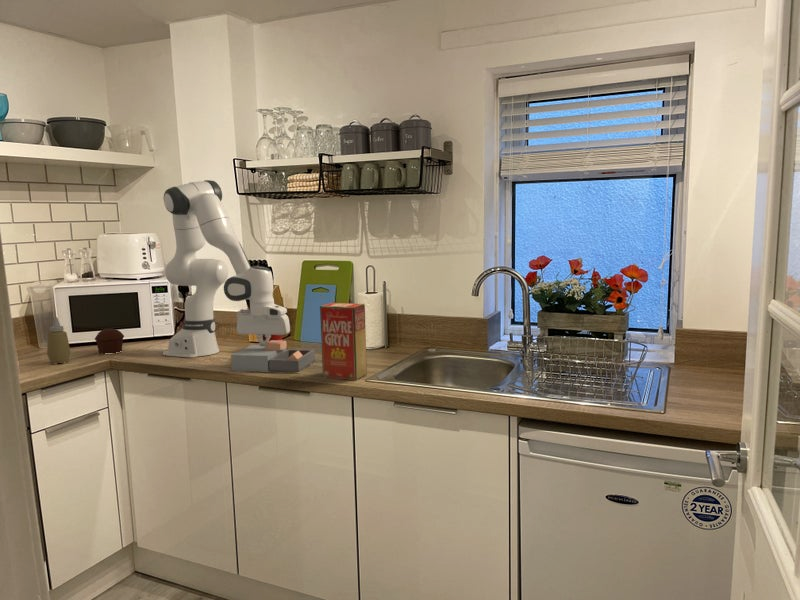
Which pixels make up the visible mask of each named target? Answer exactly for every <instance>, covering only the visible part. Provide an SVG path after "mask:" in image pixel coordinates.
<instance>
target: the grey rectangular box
mask: <svg viewBox="0 0 800 600" xmlns="http://www.w3.org/2000/svg"><path fill="white" fill-rule="evenodd" d="M285 350H287V347H286V348H284V349H282V350H265V346H259V344H250V345H249V346H247V347H245V348H242V349H240V350H238V351H236V352H234V353H232V354H230V360H231V361H230V363H231V372H245V371H259V372H258V373H269V372H270V371H269V360H270V359H271V358H273V357H275V356H277V355H278V354H280V353H282V352H284V351H285ZM268 371H269V372H268Z"/></svg>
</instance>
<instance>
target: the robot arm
mask: <svg viewBox="0 0 800 600" xmlns="http://www.w3.org/2000/svg"><path fill="white" fill-rule="evenodd" d="M222 200H223V191H222V188H221V186H220V185H219V184H218V183H217V181H215V180H211V179H210V180H208V179H207V180H206V179H205V180H202V181H201V180H199V181H190V182H189V183H184V184H181V185H177V186H172V187H168V188H167V189H166V190H165V191H164V194H163V203H164V207H165V208H166V211H167V212H169V213H170V214H172V215H171V216H172V224H173V230H174V238H175V244H176V248H175V254H174V256H172V257H173V258H172V259H171V260H170V261H168V263H167V265H166V267H165V270H164V273H165V277H166V280H167V281H168V283H170V284H172V285H176V286H181V287H183V286H186V287H187V286H188V287H189V286H190V287H191V286H193V287H195V286H196V287H195V288H196V289H195V292H194V293H193V294H192V295H189V297H187V298H186V299H185V302H184V316H185V317H184V319H183V321H180V322H179V326H182V327H181V329H179V331H178V332H176V334H174V335H173V336H171V338H169V341H168V345H167V346H168V347H167V349H166V350H164V351H163V352H162V355H163V356H165V355H166V357H167V356H169V357H180V358H196V357H201V356H203V357H204V356H209V355H210V356H211V355H215V354H218V353H219V352H220V348H219V345H218V341H217V338H216V336H217V335H216V319H215V317H214V300H215V295H216V293H217V291H218V289H219V288H220V287H221V285H223V293H224V295H225V297H226V298H227V299H229V300H230V301H233V302H242V301H246V300H249V309H247V308H246V309H240V310H238V311H237V312H236V320H237V321H236V332H237V334H239V335H255V338H256V339H257V341H258V345H259V346H265V343H267V342H268V341H269V339H270V337H271V335H282V336H286V335H288V334H289V333H290V332H291V325H290V318H289V316H288V315H287V313H288V309H287V308H286V307H283V306H281V305H278V304H276V303H275V299H274V281H273V274H272V271H271V269H270V268H268V267H266V266H260V265H252V266H251V263H250V261H249V259H248V257H247V255H246V253H245V251H244V248H243V246H242V244H241V242H240V241H239V239H238V236H237V235H236V233H235V231H234V228H233V225H232V224H231V221H230V218H229V215H228V212H227V210H226V209H225V206H224V205H223V203H222ZM206 243H208V244H209V245H210V246H213V247H214V248H216V249H218V250H220V251H221V252H223V253H224V254H225V255H226V256H227V258H228V259H229V262H230V264H231V265H232V268H233V270H234V272H235V274H236V275H233V276H230V277H229V269H228V266H227V264H226V263H225V262H224V261H223V260H220V259H215V258H197V257H196V252H198V251H200V250H201V249H203V247H204V246H205V244H206ZM262 334H264V335H265V337H267V338H266V340H265V341H263V335H262Z"/></svg>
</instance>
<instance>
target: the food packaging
mask: <svg viewBox="0 0 800 600" xmlns="http://www.w3.org/2000/svg"><path fill="white" fill-rule="evenodd" d="M319 312H320V314H319V316H320V333H321V335H320V337H321V364H322V368H321V369H322V378H323V377H326V378H325V379H334V378H335V379H336V380H345V379H346V380H349V381H358V380H360V379H361V378H363V377H366V375H368V371H367V368H368V367H367V363H368V362H367V340H366V339H367V338H366V336H367V335H366V334H367V333H366V332H367V331H366V305H365V303H347V302H346V303H344V302H343V303H342V302H330V303H326V304H323V305H320V306H319ZM335 379H334V380H335Z"/></svg>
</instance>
